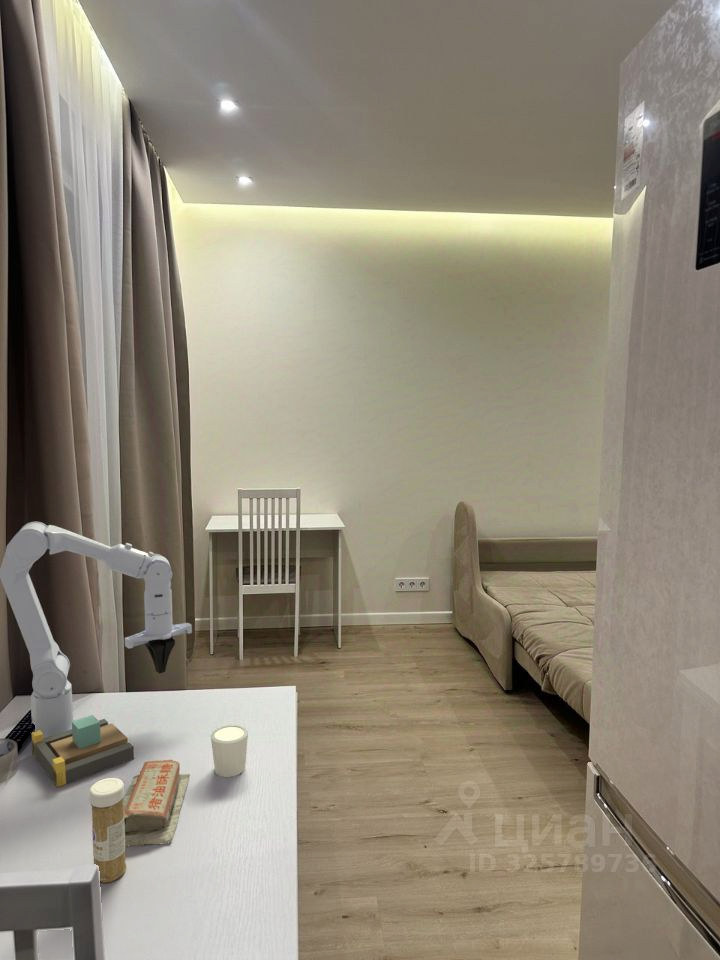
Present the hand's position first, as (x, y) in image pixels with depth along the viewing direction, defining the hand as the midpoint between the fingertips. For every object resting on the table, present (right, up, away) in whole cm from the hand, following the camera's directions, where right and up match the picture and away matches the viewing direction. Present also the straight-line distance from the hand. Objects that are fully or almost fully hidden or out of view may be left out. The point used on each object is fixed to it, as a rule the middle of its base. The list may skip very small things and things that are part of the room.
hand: (160, 671), depth 139 cm
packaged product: (+9, -14, -33) cm, 37 cm away
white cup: (+20, -12, -20) cm, 31 cm away
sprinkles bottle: (+8, -15, -47) cm, 50 cm away
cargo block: (-9, -9, -16) cm, 20 cm away
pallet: (-9, -12, -15) cm, 21 cm away
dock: (-10, -12, -16) cm, 22 cm away
